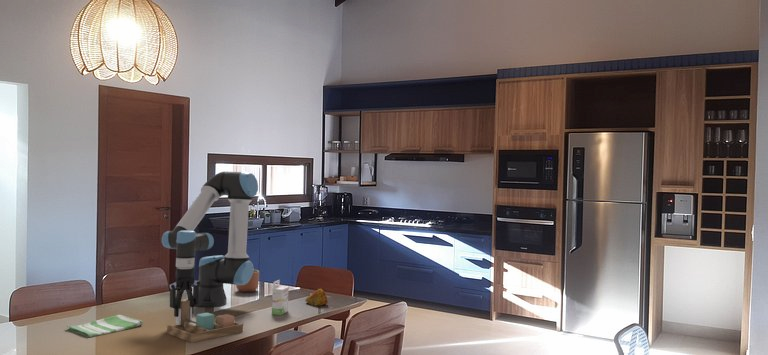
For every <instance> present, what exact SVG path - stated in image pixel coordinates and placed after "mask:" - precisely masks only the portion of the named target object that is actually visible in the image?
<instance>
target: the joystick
mask: <svg viewBox="0 0 768 355" xmlns="http://www.w3.org/2000/svg"><path fill="white" fill-rule="evenodd" d="M179 309H181V325H178V326H180V327H181V326H182V327H184V322H187V323H189V322H192V323H191V324H194V325H196V326H199V327H202V328H204V329H207V330H214V323H215V314H213V313H209V312H203V313H198V314H196V318H195V320H196V321H194V320H193V319H192V320H189V312H190V300H188V299H181V303H180V307H179Z"/></svg>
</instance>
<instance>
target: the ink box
mask: <svg viewBox="0 0 768 355" xmlns="http://www.w3.org/2000/svg"><path fill="white" fill-rule="evenodd" d="M280 281H281V280H280V279H278V280H275V281H273V283H272V291H271V292H272V296H271V297H272V298H271V315H276V316H282V315H284V314H286V313H287V312H288V311H289V310H288V309H289V289H290V286H287V285H286V286H285V285H280Z"/></svg>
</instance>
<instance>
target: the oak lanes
mask: <svg viewBox="0 0 768 355" xmlns="http://www.w3.org/2000/svg"><path fill="white" fill-rule="evenodd" d="M217 316H218V315H216V316H214V330H207V329H204V328H202V327H199V326H196V324H194V323H187V322H184V326H183V329H180V328H178V327H176V326H172V325H167V326H166V334H168V335H171V336H173V337H176V338H178V339H181V340H183V341H186V342H188V343H197V342H201V341H205V340H211V339H216V338H219V337H223V336H224V337H225V336H228V335H229V336H230V335H233V334H238V333H239V334H240V333H242V332H243V331H244V330H243V329H244V325H243V324H242V323H240V322H236V321H234V325H233V326H228V327H224V326H221V325H218V324H217Z"/></svg>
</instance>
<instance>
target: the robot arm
mask: <svg viewBox="0 0 768 355" xmlns="http://www.w3.org/2000/svg"><path fill="white" fill-rule="evenodd" d="M258 184H259V183H258V180H257V178H256V176H255V174H253V173H252V172H249V171H248V172H247V171H221V172H219V173H216V174H214V175H213V176H211V177H210V178H209V179H208V180H207V181H206V182H205V183H204V184H203V185H202V187H201V189H200V193H199V195H198V196H197V197H196V198H195V200H194V201H193V203H192V204H191V205H190V207H189V208H188V209H187V211H186V212H185V213H184V214H183V216H182V217H181V219H180V220H179V222H177V224H176V225H175V227H174V228H173V230H167V231H165V232H163V234H162V236H161V244H162V246H163V247H164V248H167V249H172V250H176V253H175V254H176V255H175V256H176V257H175V267H176V268H175V280H174V282H173V283H169V284H168V289H169V308H172V309H173V310H174V311H173V316H174V317H175V325H178V326H179V325H181V309H179V307H180V303H181V300H183V298H182V297H183V294H184V292H186V297H187V300H190V312H189V320H192V321H193V314H194V311H195V310H194V309H195V307H197V306H198V307H205V308H207V307H208V308H209V307H219V306H224V305H227V302H228V301H227V295H226V292H225V289H224V284H226V285H235V286H236V285H245V284H247V283H248V282H249V280H250V279H251V277H252V275H253V270H255V269H254V264H253V262H252V261H251V260H250V256H249V255H248V253H247V247H248V246H247V244H248V243H247V242H248V227H249V224H248V223H249V210H250V203H251V202H252V201H253V197H255V196H256V195H257V194H258V191H259V185H258ZM224 196H227V200H228V201H229V203H230V206H229V208H230V209H229V210H230V211H229V212H230V213H229V223H228V224H229V225H228V246H227V253H226V254H225V255H222V254H221V255H219V254H218V255H211V256H210V255H209V256H203V257H201V258H200V259H199V264H198V280H196V279H195V272H196V270H195V269H196V268H195V266H196V264H195V262H196V252H203V251H207V250H210V249H211V248H212V247H214V242H215V240H214V237H213V235H212V234H210V233H209V232H201V233H198V232H196V231H195V229H196V228H197V226H198V225H199V224H200V222H201V221H202V220H203V218H204V217H205V215H206V214H207V212H208V211H209V210H210V208H211V206H212V205H213V204H214V203H215V202H217V201H218V200H219V199H220V198H221V197H224ZM189 323H190V324H193V323H192V322H189Z"/></svg>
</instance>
